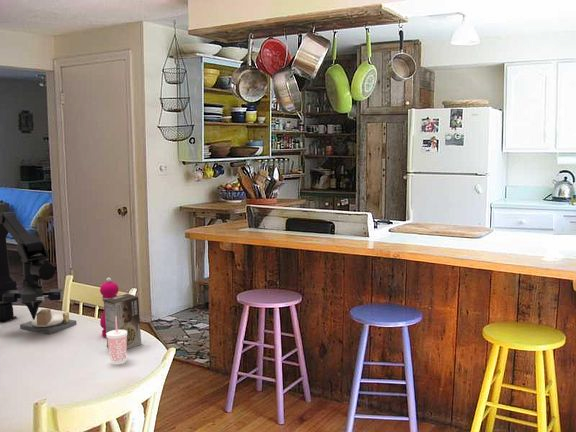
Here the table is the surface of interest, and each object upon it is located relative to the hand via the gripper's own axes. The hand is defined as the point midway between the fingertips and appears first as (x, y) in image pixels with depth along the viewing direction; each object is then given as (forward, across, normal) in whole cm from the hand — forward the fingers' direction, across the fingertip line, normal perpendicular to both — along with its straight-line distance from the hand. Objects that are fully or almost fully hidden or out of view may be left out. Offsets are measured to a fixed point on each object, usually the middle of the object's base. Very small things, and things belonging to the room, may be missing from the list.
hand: (34, 319), depth 210 cm
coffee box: (+4, +32, -22) cm, 39 cm away
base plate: (+5, +4, +6) cm, 8 cm away
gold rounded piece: (+3, +10, +4) cm, 11 cm away
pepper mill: (+4, +27, -9) cm, 29 cm away
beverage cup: (+4, +31, -36) cm, 48 cm away
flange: (+3, +3, +5) cm, 7 cm away
